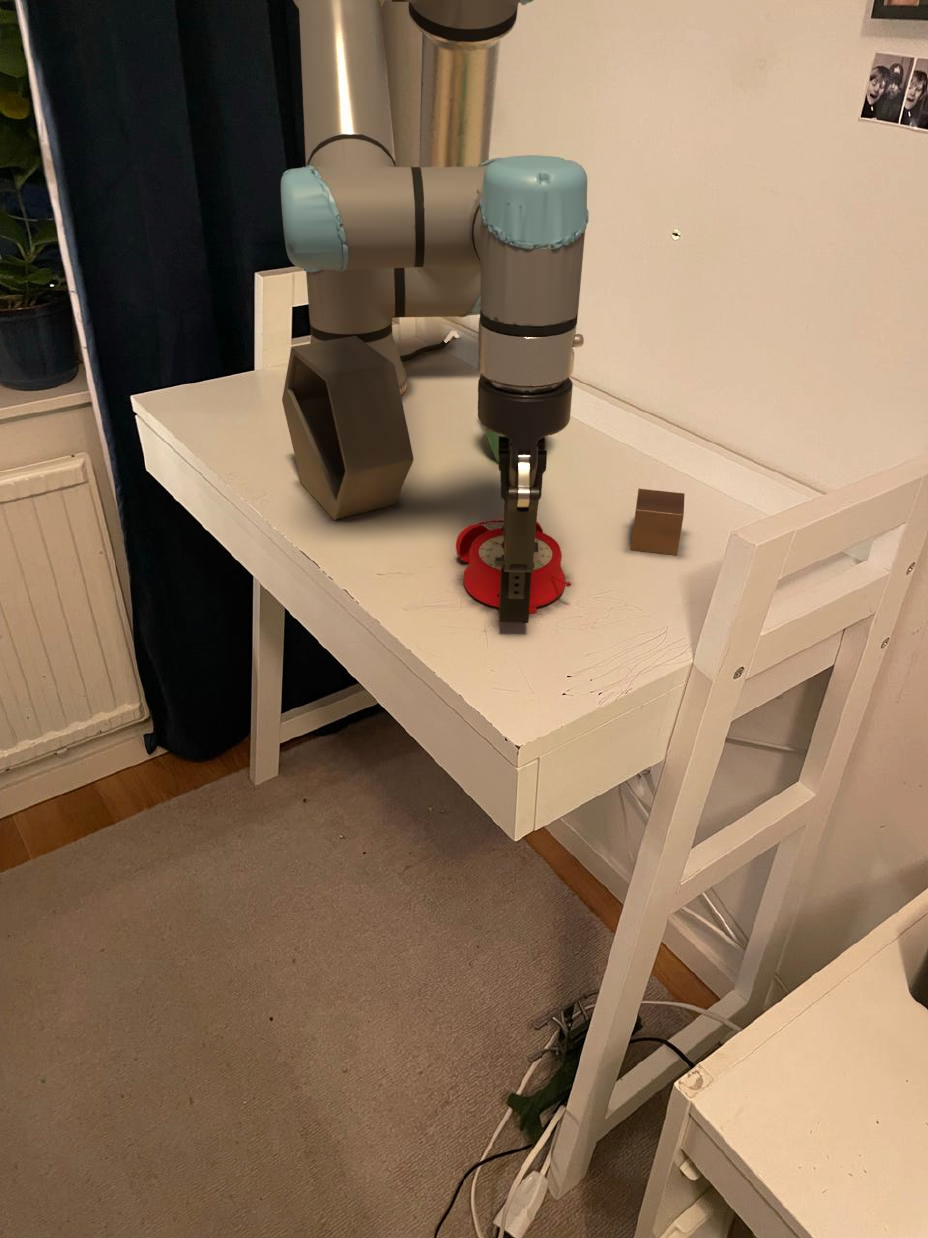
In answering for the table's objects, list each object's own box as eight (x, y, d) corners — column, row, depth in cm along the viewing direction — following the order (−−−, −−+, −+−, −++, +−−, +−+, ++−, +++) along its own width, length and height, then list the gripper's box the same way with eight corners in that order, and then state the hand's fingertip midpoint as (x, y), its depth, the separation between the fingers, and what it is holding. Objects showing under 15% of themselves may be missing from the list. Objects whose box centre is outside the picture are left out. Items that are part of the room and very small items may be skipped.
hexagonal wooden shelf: (276, 426, 116) (297, 311, 97) (334, 414, 119) (364, 301, 101) (326, 543, 111) (357, 445, 93) (385, 527, 114) (426, 429, 96)
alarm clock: (484, 594, 88) (444, 491, 97) (478, 638, 92) (440, 536, 102) (587, 578, 90) (538, 479, 99) (577, 622, 95) (531, 523, 104)
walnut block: (633, 527, 105) (638, 488, 103) (678, 532, 105) (684, 492, 102) (630, 550, 101) (635, 509, 99) (677, 555, 101) (683, 514, 98)
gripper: (579, 408, 69) (557, 662, 82) (567, 348, 79) (550, 581, 93) (477, 407, 69) (472, 660, 82) (479, 346, 79) (474, 579, 93)
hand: (513, 618), depth 88 cm, fingers closed
